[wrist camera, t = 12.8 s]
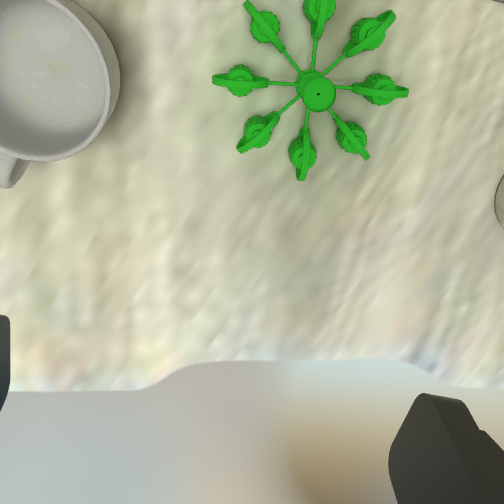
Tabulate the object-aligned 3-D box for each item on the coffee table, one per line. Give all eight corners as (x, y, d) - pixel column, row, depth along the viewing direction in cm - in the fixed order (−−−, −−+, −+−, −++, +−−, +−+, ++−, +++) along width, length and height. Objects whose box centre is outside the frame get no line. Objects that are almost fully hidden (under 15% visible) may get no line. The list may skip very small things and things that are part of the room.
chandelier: (216, -34, 34) (210, -45, 28) (419, -19, 34) (457, -26, 28) (211, 166, 41) (205, 194, 34) (381, 176, 41) (405, 205, 35)
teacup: (33, -46, 33) (-25, -63, 26) (161, 57, 36) (140, 67, 29) (-45, 111, 38) (-113, 133, 31) (73, 190, 41) (36, 226, 34)
